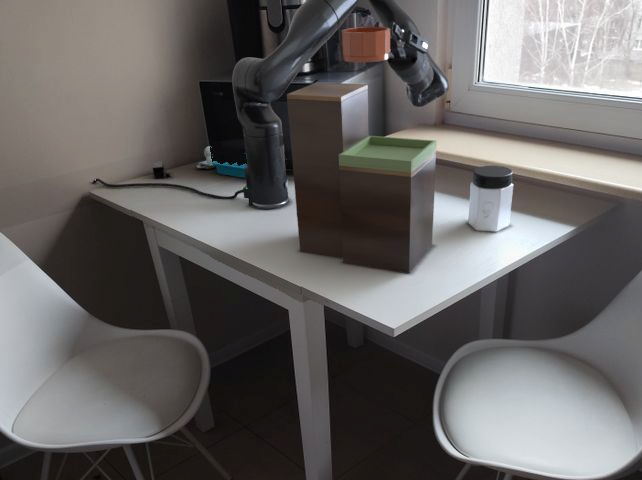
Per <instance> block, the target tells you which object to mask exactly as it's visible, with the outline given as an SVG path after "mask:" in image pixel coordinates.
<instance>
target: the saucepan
mask: <svg viewBox="0 0 642 480" xmlns="http://www.w3.org/2000/svg"><path fill="white" fill-rule="evenodd" d="M340 31H341V33H340V35H341V54H342V60H343V62H347V63H375V62H382V61H386V60H387V59H389V53H390V38H392V37H391V35H390V29H389V28H387V27H384V26H383V27H374V26H360V27H351V28H350V27H349V28H345V29H342V30H340Z"/></svg>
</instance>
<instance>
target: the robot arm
mask: <svg viewBox="0 0 642 480" xmlns="http://www.w3.org/2000/svg"><path fill="white" fill-rule="evenodd" d="M367 1H368V3H369V4H370V5H371V8H372V9H373V11H374V12H375V14H376V15H377V17H378V19H379V21H376V22H375V24H374V25H373V27H387V28H389V29H390V35H391V37H392V38H390V53H389V59H387V64H388V65H389V66H390V68H391V69H392V71H393V72H394V74H395V75H396V76H397V77H398V78H399V79H400V80H401V81H402V82H403V83H404V84H405V90H406V96H407V98H408V101H409V103H410V105H412V106H413V107H415V108H420V109H421V108H424V107H426V106H428V105H429V104H431V103H433V102H436V101H437V100H439V99H440V98H443V97H444V96H446V95H447V94H448V93H449V90H450V80H449V77H448V76H447V75H446V73H445V72H444V71H443V70H442V68H441V67H440V66H439V65H438V64H437V62H436V61H435V59H433V57H432V56H431V54H430V52H429V50H428V46H429V45H428V44H429V40H428V39H426V38H425V37H423V36H422V34H421V32H420V29H419V28H418V25H417V24H416V22H415V21H414V19H413V18H412V17H411V16H410V15H409V14H408V13H407V12H406V10H405V9H403V8H402V6H401V5H400V4H399V3H398V2H397V0H367ZM359 2H360V0H305V1H304V2H303V4H301V5H300V6H299V8H298V9H297V10H296V11H295V13H294V15H293V17H292V19H291V22H290V24H289V28H288V32H287V35H286V36H285V38H284V40H283V41H282V42H281V43H280V44H279V46H277V47H276V48H275V49H274V50H273V51H272V52H271V53H270V54H269V55H267V56H266V57H263V58H258V57H252V56H251V57H250V56H249V57H243V58H241V59H240V60H238V62H237V63H236V64H235V66H234V68H233V71H232V77H231V78H232V80H231V82H232V83H231V84H232V91H233V98H234V103H235V108H236V109H235V110H236V115H237V119H238V121H239V124H240V126H241V128H242V134H243V142H244V150H245V154H246V159H247V166H246V167H245V177H246V178H245V185H244V186H243V187H242V189H239V190H236V191H235V192H234V195H229V196H225V195H224V196H222V195H217V194H212V193H207V192H204V191H200V190H199V189H196V188H194V187H192V186H191V187H190V186H186V185H183V184H175V183H168V182H167V183H166V182H165V183H164V182H142V183H141V182H138V183H137V182H135V183H119V184H116V183H115V184H114V183H113V184H112V183H107V182H106V181H103V180H102V179H100V178H95V179H96V181H95V179H93V181H92V184H96V183H97V182H99V183H100V184H101V185H103V186H105V187H108V188H126V187H127V188H128V187H171V188H177V189H184V190H187V191H190V192H193V193H195V194H198V195H201V196H203V197H207V198H214V199H219V200H233V199H236V198H237V197H238V195H239V194H243V199H247V201H248V207H254V208H256V209H261V210H263V209H264V210H271V209H278V208H282V207H285V206H286V205H288V204H289V202H290V196H289V190H288V186H289V180H288V178H287V168H286V167H287V166H286V164H285V159H286V156H285V145H284V134H283V125H282V119H281V118H280V117H279V116H278V115H277V114H276V112H275V111H274V110H273V107H272V106H271V104H272V103H274V102H276V101H277V100H279V99H280V97H282V95H283V94H284V93H285V92H286V90H287V89H288V87H289V86H290V84H291V83H292V82H293V80H294V79H295V78H296V76H298V73H299V72H300V71H301V69H302V68H303V67H304V66H305V65H306V64H307V63H308V62H309V61H310V59H311V58H313V56H314V55H315V54H316V53H317V52H318V51H319V49H321V47H322V46H324V44H326V42H327V41H328V40H330V39H331V37H332V36H334V34H335V33H336V32H337V31H338V30H339V29H340V27H341V26H342V25H343V23H344V22H345V21H346V19H348V17H349V16H350V15H351V13H352V12H353V10H354V9H355V8H356V6H357V5H358V3H359Z"/></svg>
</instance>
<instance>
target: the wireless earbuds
mask: <svg viewBox="0 0 642 480" xmlns="http://www.w3.org/2000/svg"><path fill="white" fill-rule="evenodd" d="M152 172H153V177H154V179H164V178H171V177H172V175H171V172H170V171H166V172H165V166H164V162H163V160H158V161H152Z"/></svg>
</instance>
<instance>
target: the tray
mask: <svg viewBox="0 0 642 480" xmlns="http://www.w3.org/2000/svg"><path fill="white" fill-rule="evenodd" d="M434 152H436V153H437V140H435V139H434V140H433V139H421V138H420V139H419V138H407V137H406V138H405V137H392V136H380V135H379V136H378V135H377V136H376V135H369V136H368V137H366V138H364V139H363V140H361V141H360V142H358V143H356V144H355V145H353V146H352V147H350V148H348V149H347V150H345V151H344V152H342V153H341V154H339V166H349V167H360V168H370V169H381V170H391V171H401V172H412V171H413V170H415V169H416V168H417V167H418V166H419V165H420V164H422V163H423V162H424V161H425V160H426V159H427V158H429V157H430V156H431V155H432V154H433V153H434Z"/></svg>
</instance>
